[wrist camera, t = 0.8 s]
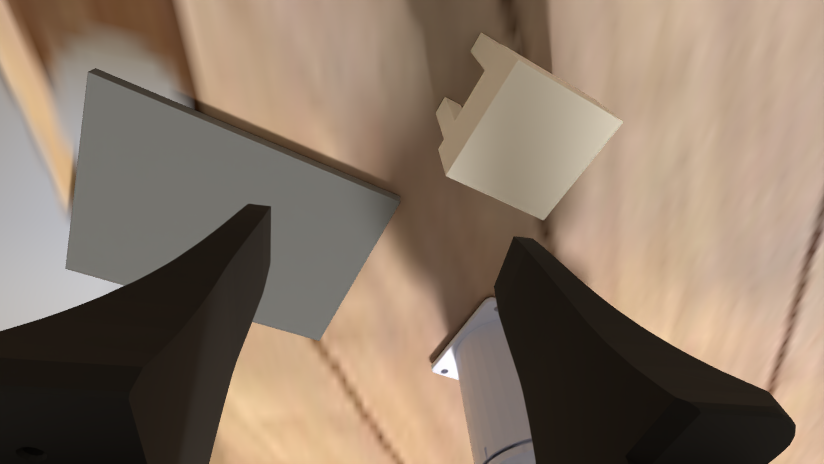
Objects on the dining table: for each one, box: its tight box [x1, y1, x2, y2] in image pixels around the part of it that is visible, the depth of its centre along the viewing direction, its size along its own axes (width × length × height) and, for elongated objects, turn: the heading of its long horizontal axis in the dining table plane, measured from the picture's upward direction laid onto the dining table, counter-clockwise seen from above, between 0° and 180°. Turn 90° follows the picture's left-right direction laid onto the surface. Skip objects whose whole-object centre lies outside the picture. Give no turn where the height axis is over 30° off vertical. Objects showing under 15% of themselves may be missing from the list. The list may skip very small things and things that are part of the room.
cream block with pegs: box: [436, 33, 623, 221], centre depth 18 cm, size 5×5×6 cm
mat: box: [66, 68, 400, 341], centre depth 24 cm, size 15×12×1 cm
